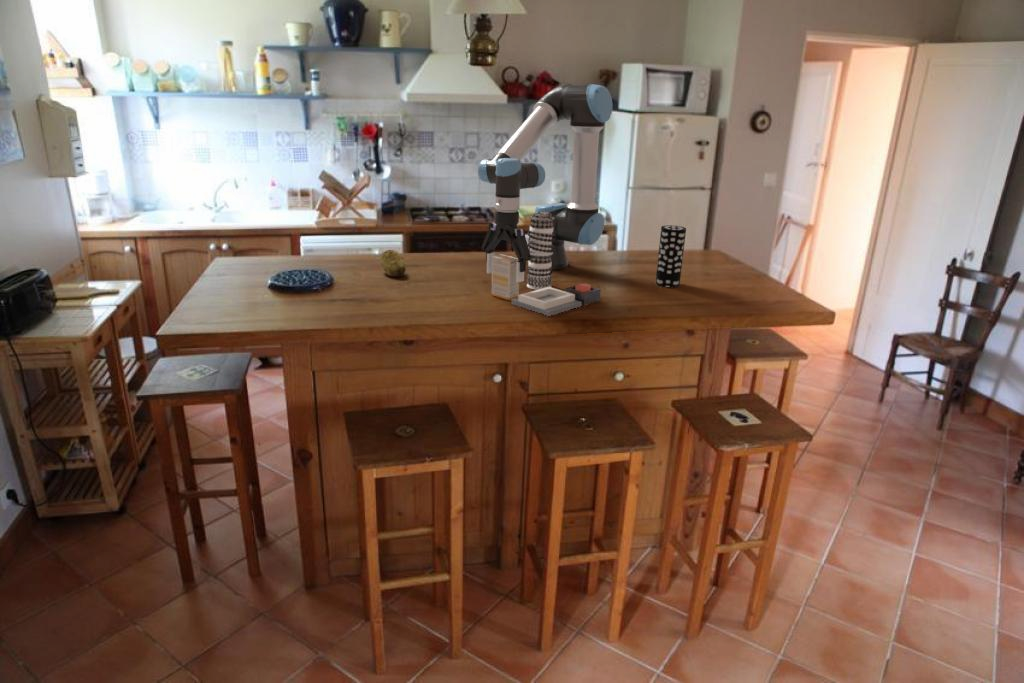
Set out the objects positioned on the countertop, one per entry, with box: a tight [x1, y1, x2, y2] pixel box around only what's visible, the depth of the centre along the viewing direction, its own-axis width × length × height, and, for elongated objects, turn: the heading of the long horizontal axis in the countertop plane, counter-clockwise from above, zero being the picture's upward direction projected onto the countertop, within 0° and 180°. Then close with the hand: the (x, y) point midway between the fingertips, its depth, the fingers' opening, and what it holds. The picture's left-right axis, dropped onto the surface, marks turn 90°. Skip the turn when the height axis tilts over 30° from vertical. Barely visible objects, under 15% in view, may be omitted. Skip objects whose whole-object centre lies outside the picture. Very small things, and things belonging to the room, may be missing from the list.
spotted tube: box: [655, 224, 687, 289], centre depth 233 cm, size 8×8×20 cm
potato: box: [380, 249, 407, 278], centre depth 238 cm, size 8×13×8 cm, turn 12°
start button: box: [574, 282, 592, 292], centre depth 215 cm, size 5×5×4 cm
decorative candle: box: [526, 211, 555, 291], centre depth 226 cm, size 9×9×25 cm
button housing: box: [564, 284, 602, 306], centre depth 215 cm, size 8×8×4 cm
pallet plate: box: [510, 286, 583, 317], centre depth 210 cm, size 16×15×4 cm
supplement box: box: [491, 253, 520, 301], centre depth 216 cm, size 8×5×13 cm, turn 47°
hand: (504, 277), depth 216 cm, fingers open, 13 cm apart
